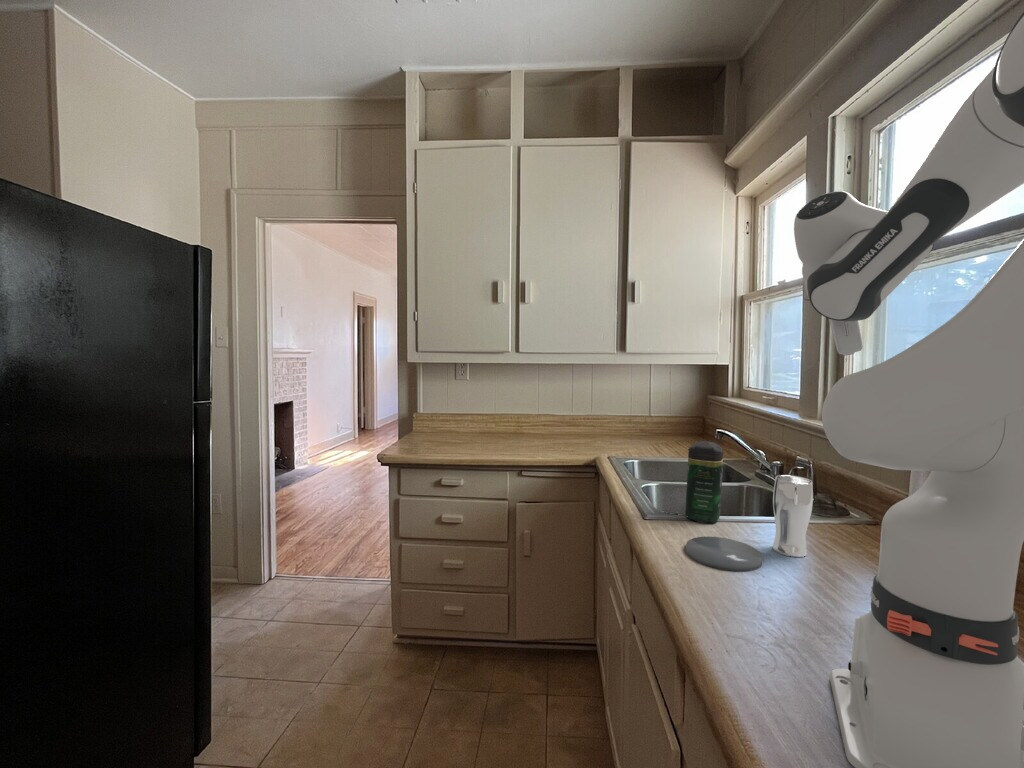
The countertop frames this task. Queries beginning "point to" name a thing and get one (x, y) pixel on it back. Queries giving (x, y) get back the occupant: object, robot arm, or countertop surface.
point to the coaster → (724, 553)
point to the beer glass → (792, 514)
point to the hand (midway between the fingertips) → (843, 335)
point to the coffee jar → (704, 481)
